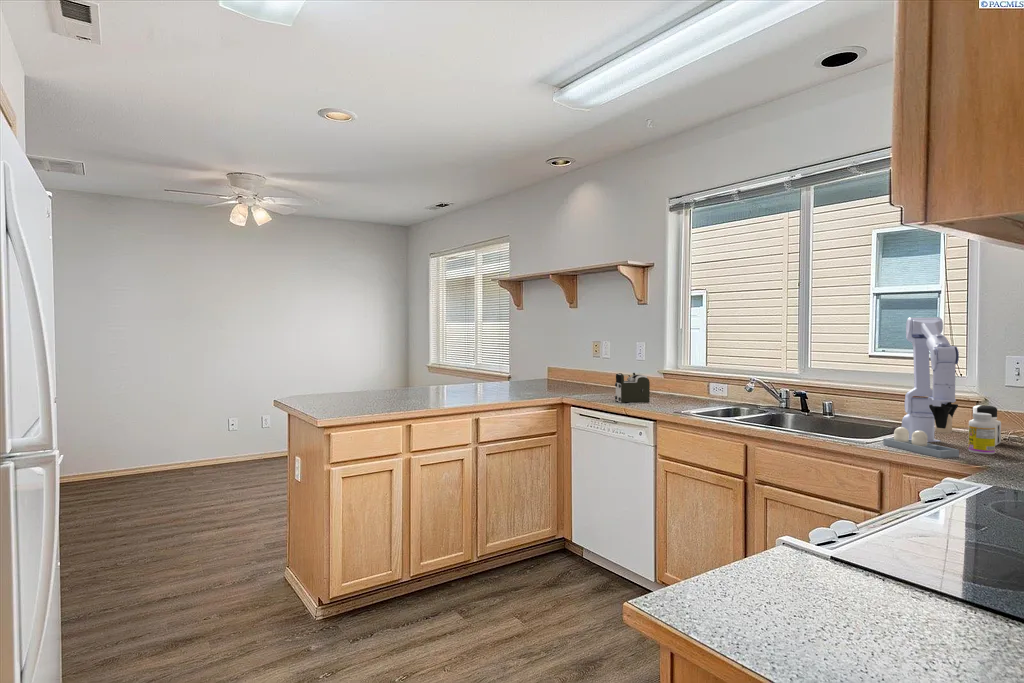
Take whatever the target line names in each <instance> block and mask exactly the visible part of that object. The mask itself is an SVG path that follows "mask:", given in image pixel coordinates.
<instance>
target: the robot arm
mask: <svg viewBox="0 0 1024 683" xmlns="http://www.w3.org/2000/svg"><path fill="white" fill-rule="evenodd" d="M943 329H944V322H943V319H942V318H941V317H939V316H937V317H910V316H909V317H908V318H907V320H906V322H905V337H906V340H907V341H908V342H909V343H911V344H912V349H913V350H912V351H913V355H912V356H913V381H914V382H913V383H914V384H913V385H914V386H913V388H912V389H910V390H909V391H907V392H906V393H905V395H904V397H905V398H904V411H905V415H904V416H903V417H902V419H901V427H904V428H906V429H907V430H908V431H909V439H910V440H912V434H913V432H915V431H918V430H920V431H923V432H925V433H926V434H927V443H934V442H935V443H937V442H942V440H939V439H935V433H936V432H935V423H936V426H937V428H944V429H945V428H946V424H947V419H948V415H949V414H950V415H951V417H952V419H953V418H954V415H955V412H956V410H957V409H958V407H959V404H957V403H955V402H957V398H956V365H958V363H959V359H960V355H959V354H960V353H959V352H960V351H959V349H958V346H956V345H955V346H954V345H951V343H950V341H949V340H948V338H947V337H946V336H945V335H944V334H942V332H943ZM930 363H931V365H930ZM930 366H931V367H930ZM930 368H931V370H932V388H931V371H930Z"/></svg>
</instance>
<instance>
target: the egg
mask: <svg viewBox="0 0 1024 683" xmlns="http://www.w3.org/2000/svg"><path fill="white" fill-rule="evenodd" d="M934 433H939V434H949V435H950V434H952V433H953V418H952V417H951V415H950V414H949V415H948V419H947V424H946V428H945V429H944V428H937V426H936V423H935V432H934Z"/></svg>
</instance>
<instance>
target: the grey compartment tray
mask: <svg viewBox="0 0 1024 683" xmlns="http://www.w3.org/2000/svg"><path fill="white" fill-rule="evenodd" d="M882 445H883V446H887V447H891V448H896V449H899V450H900V449H901V450H903V451H909V452H913V453H917V454H921V455H926V456H929V457H934V458H939V459H945V458H958V457H960V449H956V448H952V447H948V446H942V445H938V444H933V443H930V442H927V446H917V445H912V440H910V439H909V442H899V441H894V437H886V438H883V444H882Z"/></svg>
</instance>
